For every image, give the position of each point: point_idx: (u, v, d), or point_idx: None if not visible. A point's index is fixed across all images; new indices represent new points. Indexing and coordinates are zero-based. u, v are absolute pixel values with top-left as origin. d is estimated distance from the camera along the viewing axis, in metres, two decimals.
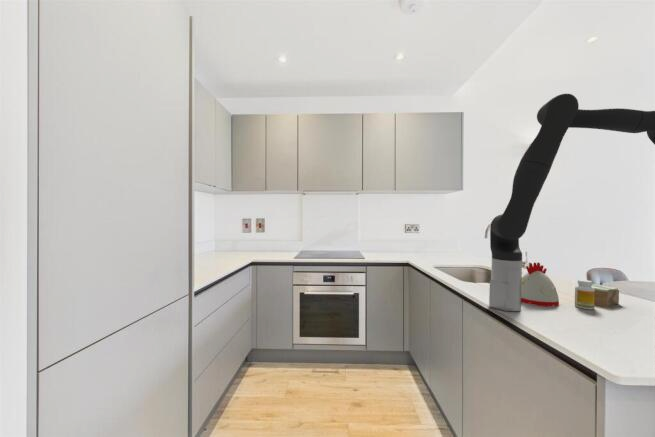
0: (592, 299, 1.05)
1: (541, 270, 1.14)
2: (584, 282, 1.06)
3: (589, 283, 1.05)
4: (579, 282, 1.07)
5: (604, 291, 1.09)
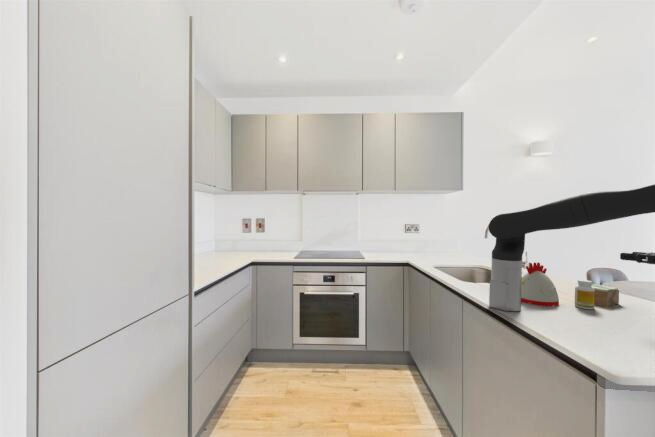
0: (592, 299, 1.05)
1: (541, 270, 1.14)
2: (584, 282, 1.06)
3: (589, 283, 1.05)
4: (579, 282, 1.07)
5: (604, 291, 1.09)
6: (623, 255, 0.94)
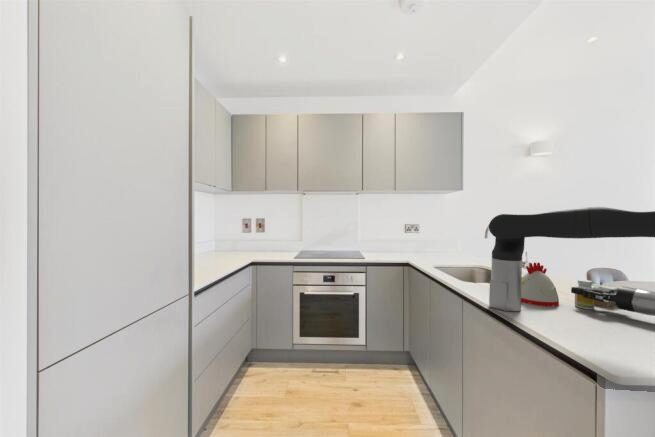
0: (592, 299, 1.05)
1: (541, 270, 1.14)
2: (584, 282, 1.06)
3: (589, 283, 1.05)
4: (579, 282, 1.07)
5: None
6: (573, 289, 1.07)
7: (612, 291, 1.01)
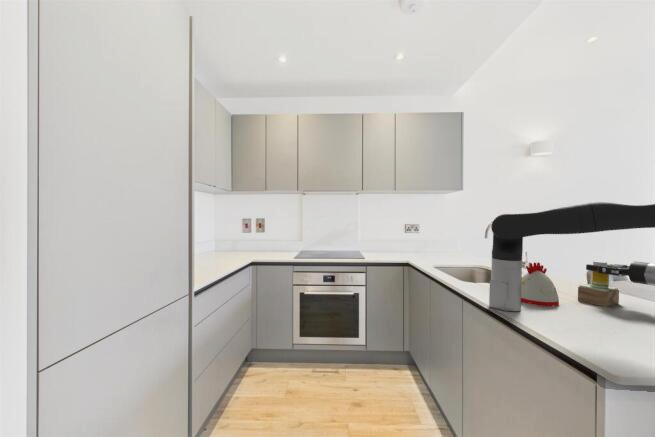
0: (607, 278, 1.12)
1: (541, 270, 1.14)
2: (599, 263, 1.13)
3: (604, 264, 1.12)
4: (595, 263, 1.14)
5: (604, 291, 1.09)
6: (588, 266, 1.14)
7: (624, 266, 1.08)
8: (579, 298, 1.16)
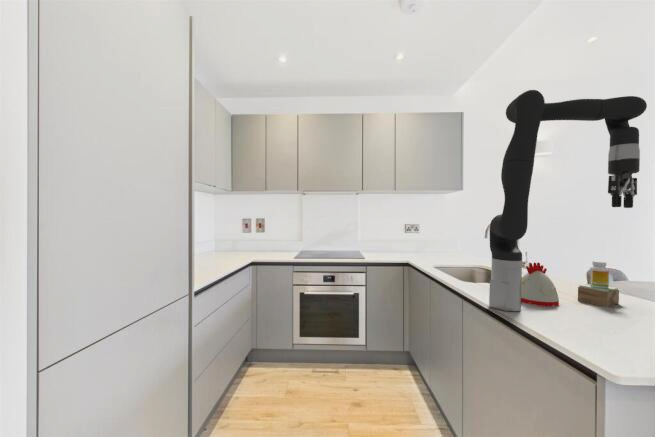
0: (607, 278, 1.12)
1: (541, 270, 1.14)
2: (599, 263, 1.13)
3: (604, 263, 1.12)
4: (594, 263, 1.14)
5: (604, 291, 1.09)
6: (613, 204, 0.98)
7: None
8: (579, 298, 1.16)
